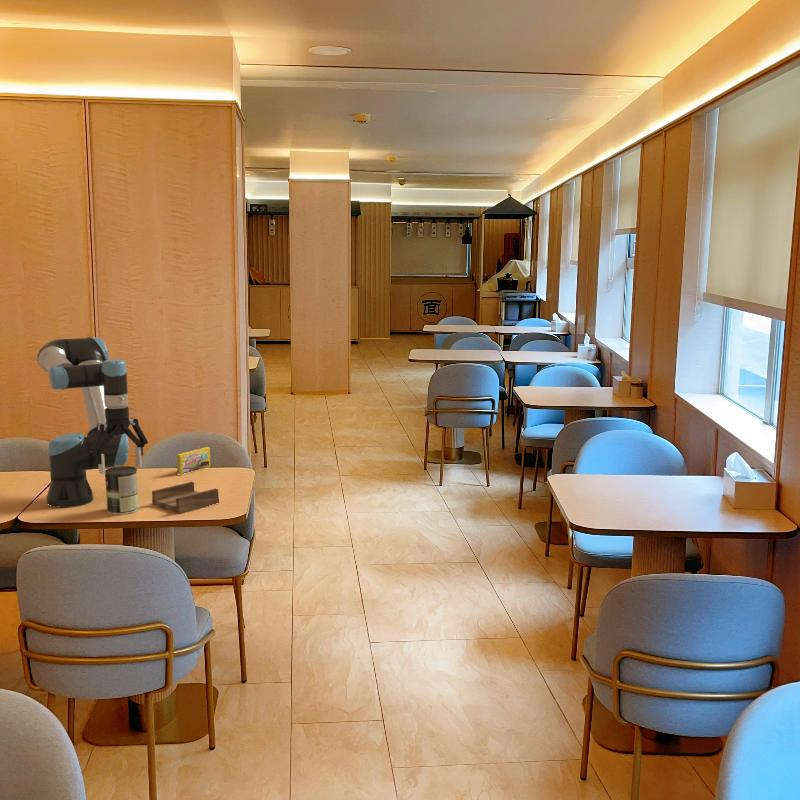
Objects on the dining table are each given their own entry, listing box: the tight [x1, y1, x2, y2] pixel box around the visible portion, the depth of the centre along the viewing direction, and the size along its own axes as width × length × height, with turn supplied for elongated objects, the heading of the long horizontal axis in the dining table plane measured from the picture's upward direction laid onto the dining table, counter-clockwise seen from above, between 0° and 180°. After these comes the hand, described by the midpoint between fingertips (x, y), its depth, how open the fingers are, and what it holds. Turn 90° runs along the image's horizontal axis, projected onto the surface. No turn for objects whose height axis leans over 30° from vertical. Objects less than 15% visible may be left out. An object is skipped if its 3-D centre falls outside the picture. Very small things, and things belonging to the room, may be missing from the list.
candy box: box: [176, 446, 211, 476], centre depth 355 cm, size 16×2×8 cm, turn 147°
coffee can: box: [104, 465, 140, 516], centre depth 302 cm, size 10×10×14 cm
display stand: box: [151, 481, 220, 515], centre depth 309 cm, size 16×16×5 cm
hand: (120, 469), depth 300 cm, fingers open, 13 cm apart
